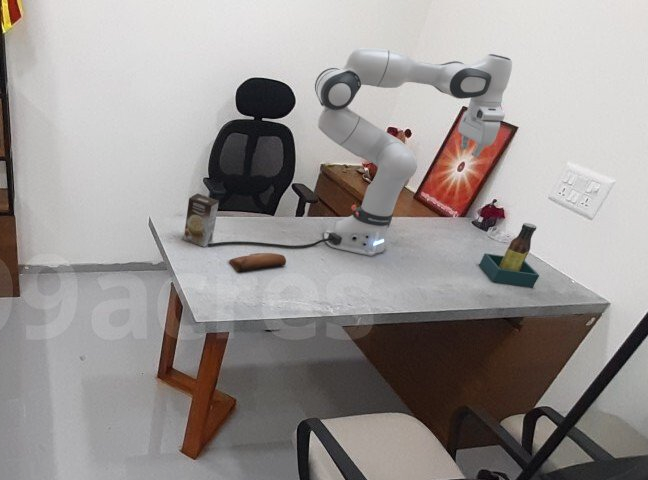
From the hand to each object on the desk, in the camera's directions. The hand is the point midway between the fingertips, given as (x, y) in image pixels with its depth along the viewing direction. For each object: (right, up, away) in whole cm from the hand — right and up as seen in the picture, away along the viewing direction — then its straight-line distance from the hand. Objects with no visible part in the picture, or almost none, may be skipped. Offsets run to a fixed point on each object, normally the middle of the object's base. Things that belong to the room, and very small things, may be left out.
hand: (469, 152), depth 174 cm
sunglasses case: (-72, -38, +1) cm, 81 cm away
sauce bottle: (+19, -42, +11) cm, 47 cm away
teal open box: (+19, -41, +11) cm, 47 cm away
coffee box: (-91, -29, +12) cm, 96 cm away
